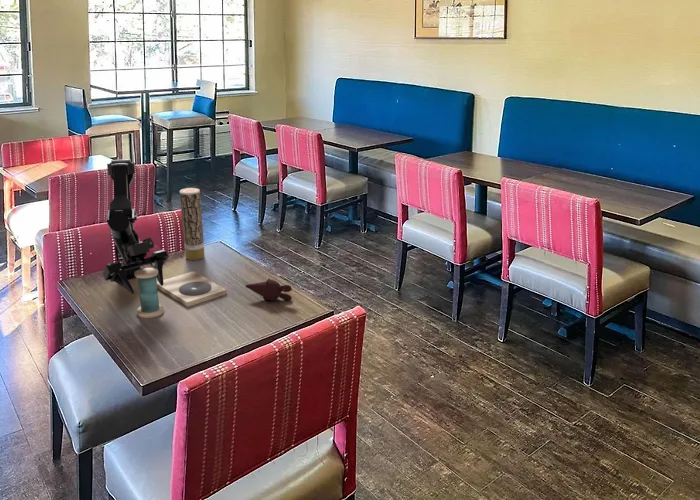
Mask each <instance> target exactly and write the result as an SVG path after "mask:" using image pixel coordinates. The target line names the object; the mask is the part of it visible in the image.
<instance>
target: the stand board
mask: <svg viewBox="0 0 700 500" xmlns="http://www.w3.org/2000/svg"><path fill="white" fill-rule="evenodd" d="M163 283H164V284H163V286H161V285H160V283H159V282H158V281H157V290H160V291H162V292H163V293H165V294H167V295H168V296H169V297H171V298H173V299H174V300H176V301H178V302H179V303H181V304H183V306H185V307H191V306H195V305H197V304H200V303H203V302H206V301H209V300H212V299H215V298H218V297H221V296H222V297H223V296H225V295H227V294H228V293H227V292H228V291H227V288H224V287H223V286H221V285H220V284H218V283H216V282H213V281H212V280H210V279H208V278H207V277H204V276H203V275H201V274H199V273H198V272H196V271H189V272H186V273H183V274H180V275H179V274H178V275H176V276H173V277H169V278H166V279H163Z"/></svg>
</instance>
